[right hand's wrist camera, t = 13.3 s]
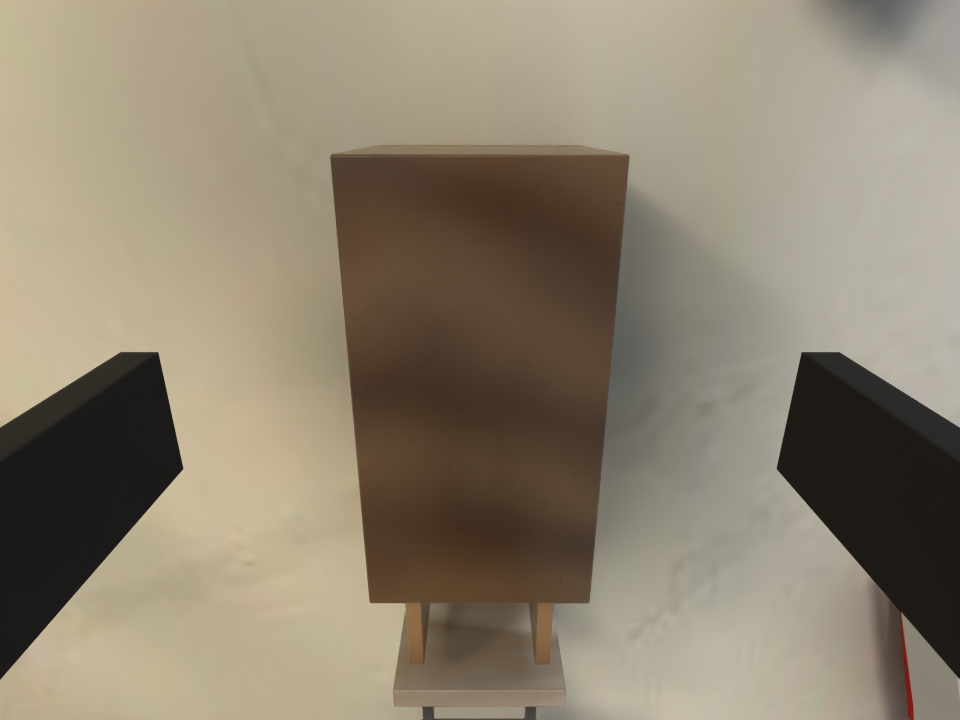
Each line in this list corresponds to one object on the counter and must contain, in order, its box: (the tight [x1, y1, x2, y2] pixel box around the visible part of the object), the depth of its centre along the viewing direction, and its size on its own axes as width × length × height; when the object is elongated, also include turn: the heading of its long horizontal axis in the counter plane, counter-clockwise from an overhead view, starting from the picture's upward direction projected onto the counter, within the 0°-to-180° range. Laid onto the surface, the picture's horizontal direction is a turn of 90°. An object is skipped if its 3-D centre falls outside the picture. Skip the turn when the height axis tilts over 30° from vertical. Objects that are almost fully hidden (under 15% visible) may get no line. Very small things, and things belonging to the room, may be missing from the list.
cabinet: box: [330, 145, 629, 603], centre depth 29 cm, size 20×10×10 cm, turn 0°
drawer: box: [393, 603, 566, 720], centre depth 33 cm, size 24×9×8 cm, turn 0°
